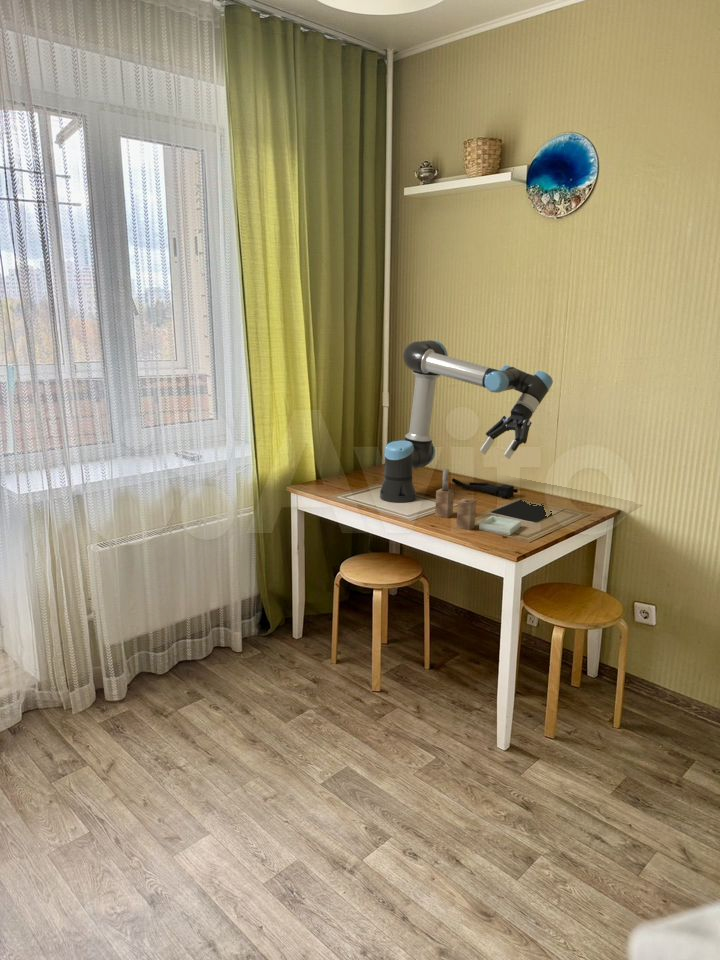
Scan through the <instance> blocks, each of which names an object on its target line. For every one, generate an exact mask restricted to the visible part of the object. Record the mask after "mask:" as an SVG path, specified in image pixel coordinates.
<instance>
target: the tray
mask: <svg viewBox="0 0 720 960" xmlns="http://www.w3.org/2000/svg"><path fill="white" fill-rule="evenodd" d="M478 524H479V526H478V527H479V528H478V529H479V530H480V531H484V532H485V531H486V532H488V533H495V534H499V535H500V534H501V535H506V536H511V535H513V534H514V533H516V532H517V531H518V530H519V529H521V528H522V520H518V519H513V518H509V517H503V516H501V517H500V516H498V515H490V516H489V517H487V518H485V519H483V520H482V521H481V522H479V523H478ZM520 527H521V528H520Z"/></svg>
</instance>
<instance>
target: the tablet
mask: <svg viewBox="0 0 720 960" xmlns="http://www.w3.org/2000/svg"><path fill="white" fill-rule="evenodd" d="M522 500H523V499H519V500H517V501H514V502H511V503H509V504H506V505H504V506H502V507H498V508H496V509H493V510H491V511H490V514H492V515H495V516H499V517H500V516H501V517H503V518H508V519H514V520H519V521H521V522H522V521H523V522H527V521H528V523H531V522H532V523H531V524H538V523H537V522H539V523H541V522H542V520H543V521H544V519H545V520H546V518H547V519H549V518H551V517H553V516H552V513H551V514H550V515H549V516H548V517H549V518H548V517H547V516H545V515H546V512H545V510H544V507H543V506H544V505H542V504H543V503H542V504H541V505H542V506H539V505H537V506H533V505H536V504H531V503H530V504H531V505H529V504H527V503H526V502H525V501H524V502H523V501H522ZM550 512H552V511H550ZM550 516H551V517H550ZM540 521H541V522H540Z"/></svg>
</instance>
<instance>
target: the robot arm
mask: <svg viewBox="0 0 720 960" xmlns="http://www.w3.org/2000/svg"><path fill="white" fill-rule="evenodd" d="M402 359H403V363H404V365H405V366H406V367H407V368H408V369H410V370H411V371H412V374H413V375H414V376H415V381H414V389H413V400H412V405H411V413H410V414H411V415H410V421H409V422H410V424H409V431H408V433H405V436H404V440H393V441H390V442H389V443H387V444H386V446H385V448H384V449H385V450H384V479H383V482H382V486H381V488H380V491H379V499H380V500H382V501H386V502H390V503H391V502H392V503H408V502H412V501H414V500H416V499H417V492H416V489H415V485H414V482H413V473H414V470H417V469H420V468H423V467H426V466H428V465H429V464H430V463H432V461H433V460H434V458H435V457H436V456H435V455H436V448H435V446H434V443H433V438H432V436H431V435H430V433H431V432H430V430H431V424H432V417H433V408H434V400H435V399H434V398H435V392H436V383H437V379H438V378H439V377H441V376H443V377H446V378H450V379H454V380H457V381H461V382H465V383H468V384H472V385H474V386H478V387H482V388H484V389H487V390H488V391H489V392H491V393H502V392H506V391H511V390H515V391H518V392H519V393H521V395H520V396H519V398H518V399H517V401H516V403H515V404H514V405H513V407H512V408H511V410H510V416H509V417H506V415H503V416H502V417H501V419H500V420H498V422H497V423H495V424H494V425H493V426H492V427H490V428H489V430H488V431H486V432H485V435H486V437H487V438H486V439H485V441H483V445H482V446H481V448H480V449H479V451H480V452H481V453H482V455H484V456H485V455H487V453H488V451H489V450H490V449H491V447H492V445H493V444H494V442H495V439H497V438H498V437H499V436H501V435H502V434H505V432H509V431H514V437H515V438H514V439H512V441H511V443H510V444H509V446H508V447H507V449H506V450H505V452H504V454H503V456H504V457H505V458H507V460H510V459H511V458H512V457H513V454H514V453H515V452H516V451H517V450H518V448H519V447H520V445H522V444H527V440H528V436H529V431H530V428H531V426H532V421H530V419H531V418H532V416H533V414H534V413H535V412H536V410H537V409H538V407H539V405H540V404H541V403H542V401H543V400H544V398H545V397H546V395H547V394H548V392H549V390H550V389H551V388H552V386H553V383H554V380H553V377H551V375H550V374H548V373H547V372H545V371H540V370H539V371H537V372H535V373H534V374H530V373H528V372H525V371H523V370H520V369H518V368H516V367H514V366H511V365H507V364H506V365H503V367H501V368H500V369H495V368H491V367H488V366H485V365H480V364H477V363H474V362H470V361H466V360H463V359H459V358H455V357H451V356H448V350H447V348H446V347H445V345H444V344H443V343H442V342H440V341H439V340H438V341H437V340H430V339H429V340H422V341H419V340H418V341H414V342H411V343H409V344H407V346H406V347H405V348H404V351H403V355H402Z"/></svg>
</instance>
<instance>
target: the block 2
mask: <svg viewBox="0 0 720 960" xmlns="http://www.w3.org/2000/svg"><path fill="white" fill-rule="evenodd" d="M456 507H457V509H456V510H457V511H456V526H455V527H456V529H461V530H465V531H471V530H472V529H474V528H476V527H475V526H476V525H475V524H476V509H477V508H476V507H477V500H475V499H470V498H469V499H468V498H462V499H460V500H458V501H457V506H456Z"/></svg>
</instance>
